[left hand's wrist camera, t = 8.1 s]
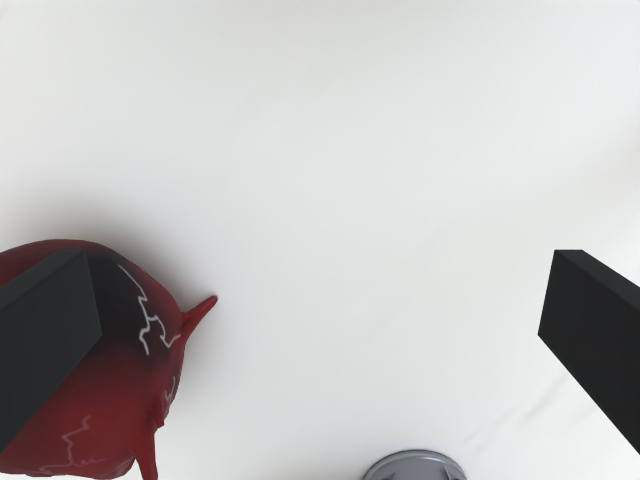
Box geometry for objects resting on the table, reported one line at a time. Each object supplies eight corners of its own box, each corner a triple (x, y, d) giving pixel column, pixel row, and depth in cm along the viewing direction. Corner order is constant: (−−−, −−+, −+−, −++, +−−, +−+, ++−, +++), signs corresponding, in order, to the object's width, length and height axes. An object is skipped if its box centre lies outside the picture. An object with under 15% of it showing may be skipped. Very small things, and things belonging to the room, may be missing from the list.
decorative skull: (66, 549, 46) (197, 484, 34) (-205, 471, 36) (-160, 342, 24) (142, 373, 62) (248, 287, 50) (-31, 289, 53) (47, 157, 41)
